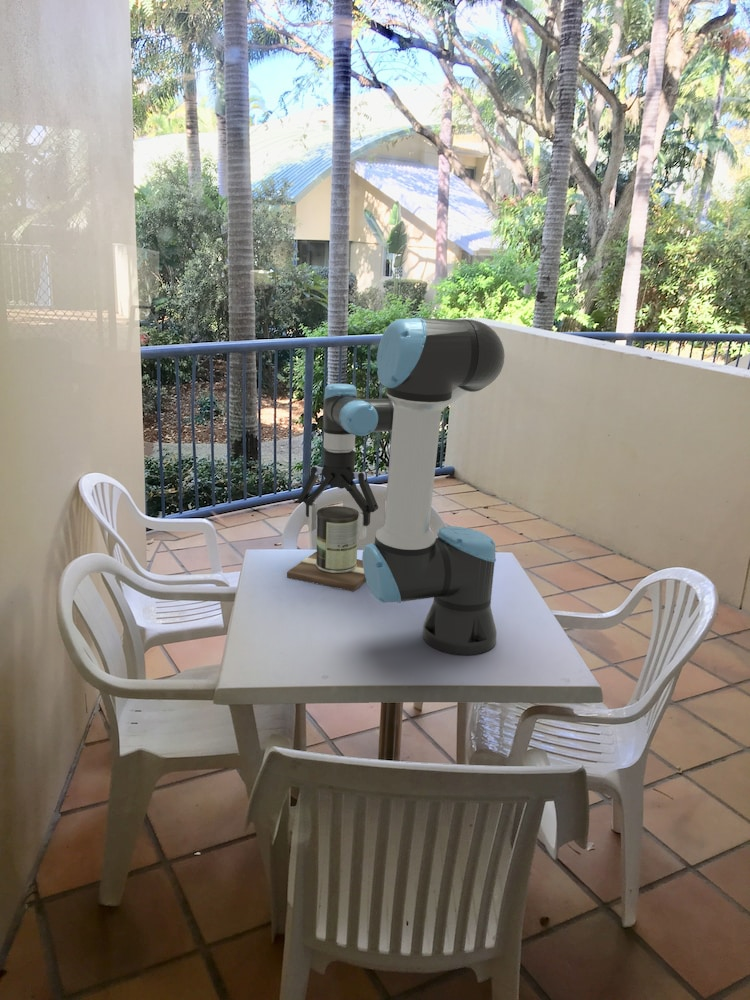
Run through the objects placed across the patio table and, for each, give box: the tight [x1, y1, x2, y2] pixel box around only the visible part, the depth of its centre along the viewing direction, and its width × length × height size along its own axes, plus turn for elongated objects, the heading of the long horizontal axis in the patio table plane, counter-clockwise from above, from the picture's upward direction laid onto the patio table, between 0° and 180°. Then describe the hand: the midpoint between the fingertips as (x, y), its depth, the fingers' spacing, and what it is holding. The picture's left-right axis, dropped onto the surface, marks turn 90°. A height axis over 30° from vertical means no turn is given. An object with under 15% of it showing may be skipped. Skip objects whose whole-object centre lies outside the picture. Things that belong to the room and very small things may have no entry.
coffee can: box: [316, 505, 360, 573], centre depth 184 cm, size 10×10×14 cm
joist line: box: [300, 557, 364, 574], centre depth 186 cm, size 3×18×1 cm, turn 68°
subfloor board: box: [286, 551, 367, 592], centre depth 185 cm, size 16×18×2 cm
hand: (337, 533), depth 183 cm, fingers open, 13 cm apart
